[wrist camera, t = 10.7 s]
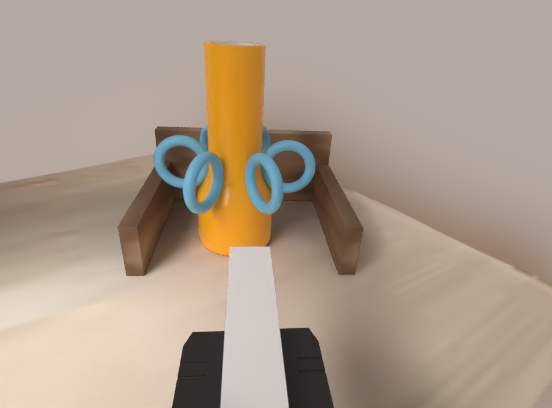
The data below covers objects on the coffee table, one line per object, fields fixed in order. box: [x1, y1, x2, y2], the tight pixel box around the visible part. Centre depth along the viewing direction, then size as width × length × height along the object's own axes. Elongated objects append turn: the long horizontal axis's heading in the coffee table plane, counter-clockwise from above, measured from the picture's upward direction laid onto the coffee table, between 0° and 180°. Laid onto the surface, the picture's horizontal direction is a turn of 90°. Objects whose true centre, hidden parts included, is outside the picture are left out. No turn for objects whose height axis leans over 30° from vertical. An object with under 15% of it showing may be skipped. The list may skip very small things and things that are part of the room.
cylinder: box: [154, 41, 315, 256], centre depth 27 cm, size 12×10×15 cm
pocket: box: [118, 127, 363, 276], centre depth 30 cm, size 16×13×7 cm
